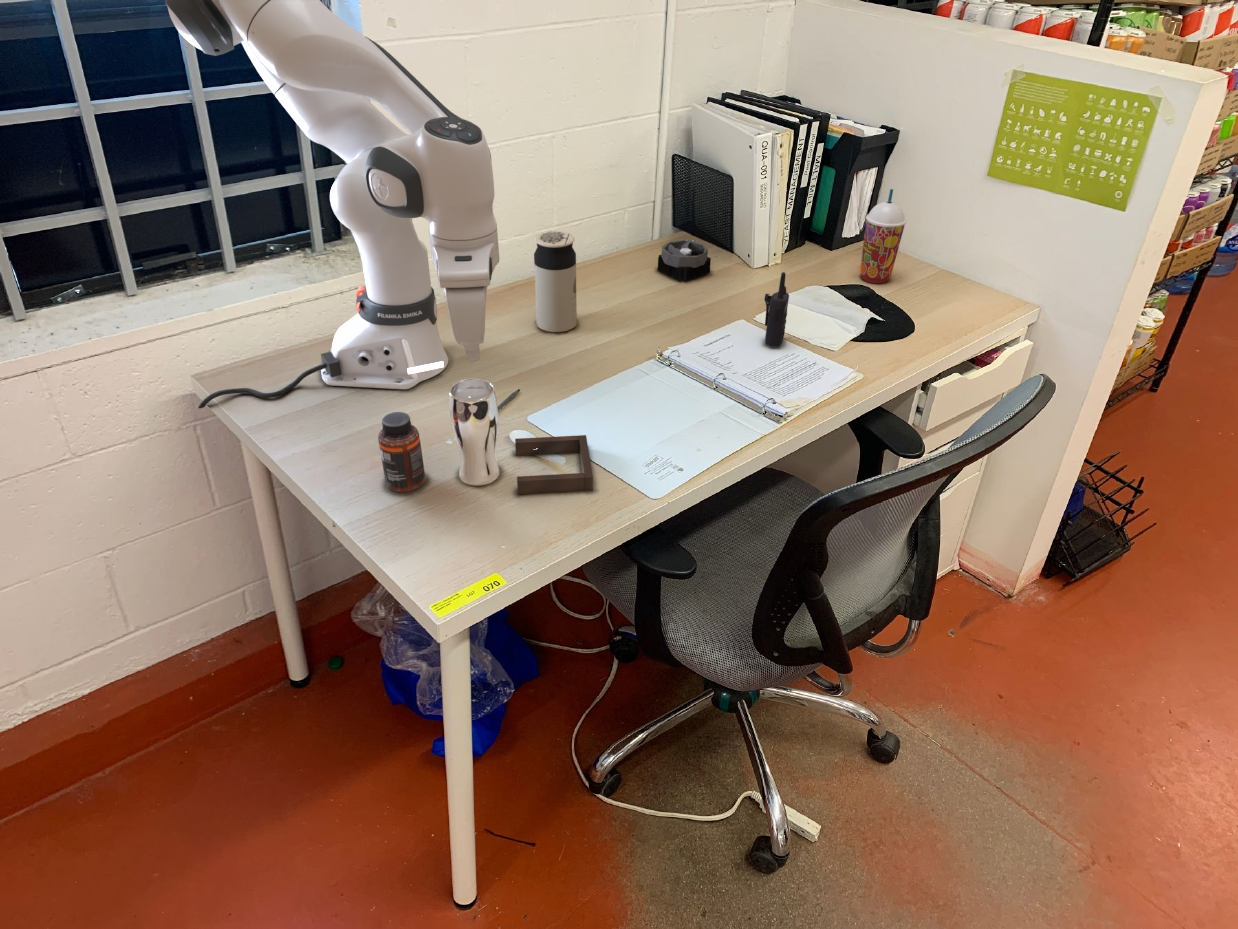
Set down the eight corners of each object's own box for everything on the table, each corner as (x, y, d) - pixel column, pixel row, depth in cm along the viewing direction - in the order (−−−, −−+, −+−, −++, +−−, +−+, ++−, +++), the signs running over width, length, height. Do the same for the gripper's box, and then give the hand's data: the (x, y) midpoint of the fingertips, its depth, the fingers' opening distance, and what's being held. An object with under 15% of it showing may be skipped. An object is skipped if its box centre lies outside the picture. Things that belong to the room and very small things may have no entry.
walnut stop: (517, 494, 135) (517, 481, 134) (515, 451, 144) (515, 438, 143) (592, 490, 136) (592, 476, 135) (586, 447, 146) (586, 434, 144)
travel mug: (531, 330, 179) (527, 243, 168) (543, 313, 185) (540, 228, 175) (570, 335, 177) (569, 247, 167) (581, 318, 184) (580, 232, 173)
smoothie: (848, 273, 205) (864, 184, 194) (881, 269, 207) (898, 181, 196) (867, 287, 199) (884, 197, 187) (901, 283, 201) (920, 194, 189)
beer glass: (494, 490, 136) (487, 404, 127) (449, 484, 137) (440, 398, 128) (508, 464, 141) (502, 380, 133) (465, 458, 142) (457, 374, 134)
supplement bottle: (428, 470, 140) (420, 407, 133) (422, 493, 135) (414, 429, 128) (389, 470, 139) (379, 407, 133) (382, 494, 135) (371, 429, 128)
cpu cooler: (683, 260, 195) (652, 245, 201) (681, 284, 198) (651, 270, 204) (717, 248, 200) (686, 235, 207) (715, 273, 204) (685, 259, 210)
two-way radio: (779, 350, 174) (789, 276, 165) (756, 346, 175) (765, 273, 167) (785, 337, 178) (794, 265, 170) (762, 334, 179) (771, 262, 171)
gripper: (444, 222, 128) (453, 312, 136) (437, 281, 111) (448, 380, 119) (489, 221, 129) (496, 310, 137) (489, 279, 112) (497, 377, 120)
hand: (474, 343), depth 128 cm, fingers open, 8 cm apart
